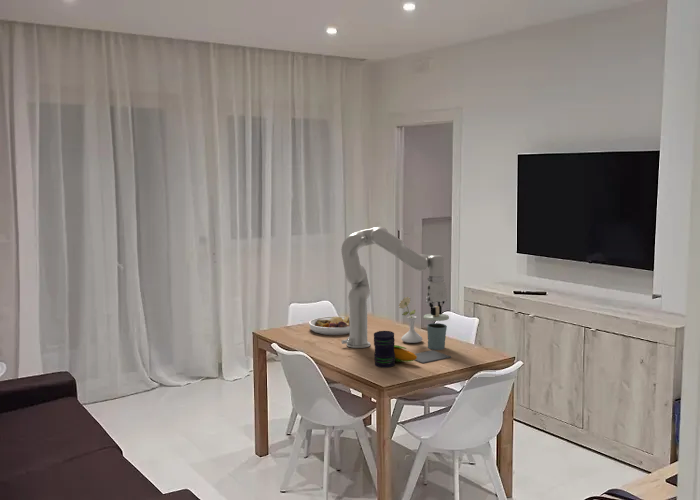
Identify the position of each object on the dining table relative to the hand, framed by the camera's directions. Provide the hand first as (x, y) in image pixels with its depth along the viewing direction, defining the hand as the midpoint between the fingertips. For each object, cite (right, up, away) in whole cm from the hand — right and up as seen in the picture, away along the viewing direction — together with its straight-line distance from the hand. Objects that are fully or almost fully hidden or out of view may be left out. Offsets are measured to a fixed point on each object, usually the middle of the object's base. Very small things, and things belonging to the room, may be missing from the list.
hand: (436, 314), depth 341 cm
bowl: (-53, -14, +45) cm, 71 cm away
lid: (0, -2, 0) cm, 2 cm away
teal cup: (+1, -18, +4) cm, 19 cm away
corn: (-21, -21, -21) cm, 36 cm away
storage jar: (-28, -21, -25) cm, 43 cm away
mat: (-6, -20, -13) cm, 25 cm away
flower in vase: (-12, -17, +16) cm, 26 cm away
